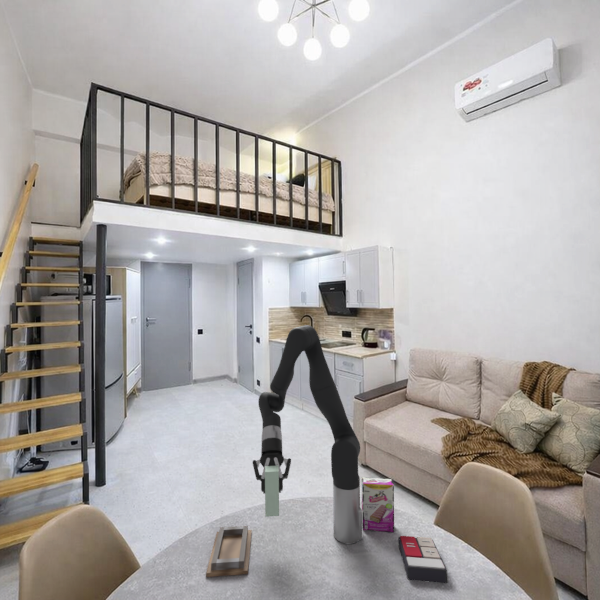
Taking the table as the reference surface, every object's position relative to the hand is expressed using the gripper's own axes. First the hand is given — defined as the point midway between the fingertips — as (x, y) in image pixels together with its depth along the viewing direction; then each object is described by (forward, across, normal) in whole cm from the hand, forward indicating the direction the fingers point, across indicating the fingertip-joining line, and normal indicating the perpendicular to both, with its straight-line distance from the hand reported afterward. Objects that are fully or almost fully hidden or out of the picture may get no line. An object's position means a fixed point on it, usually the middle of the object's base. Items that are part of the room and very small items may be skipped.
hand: (272, 492), depth 108 cm
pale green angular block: (+4, 0, +6) cm, 7 cm away
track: (+13, -13, +12) cm, 22 cm away
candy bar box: (+8, +38, +18) cm, 43 cm away
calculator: (+21, +45, +6) cm, 50 cm away
